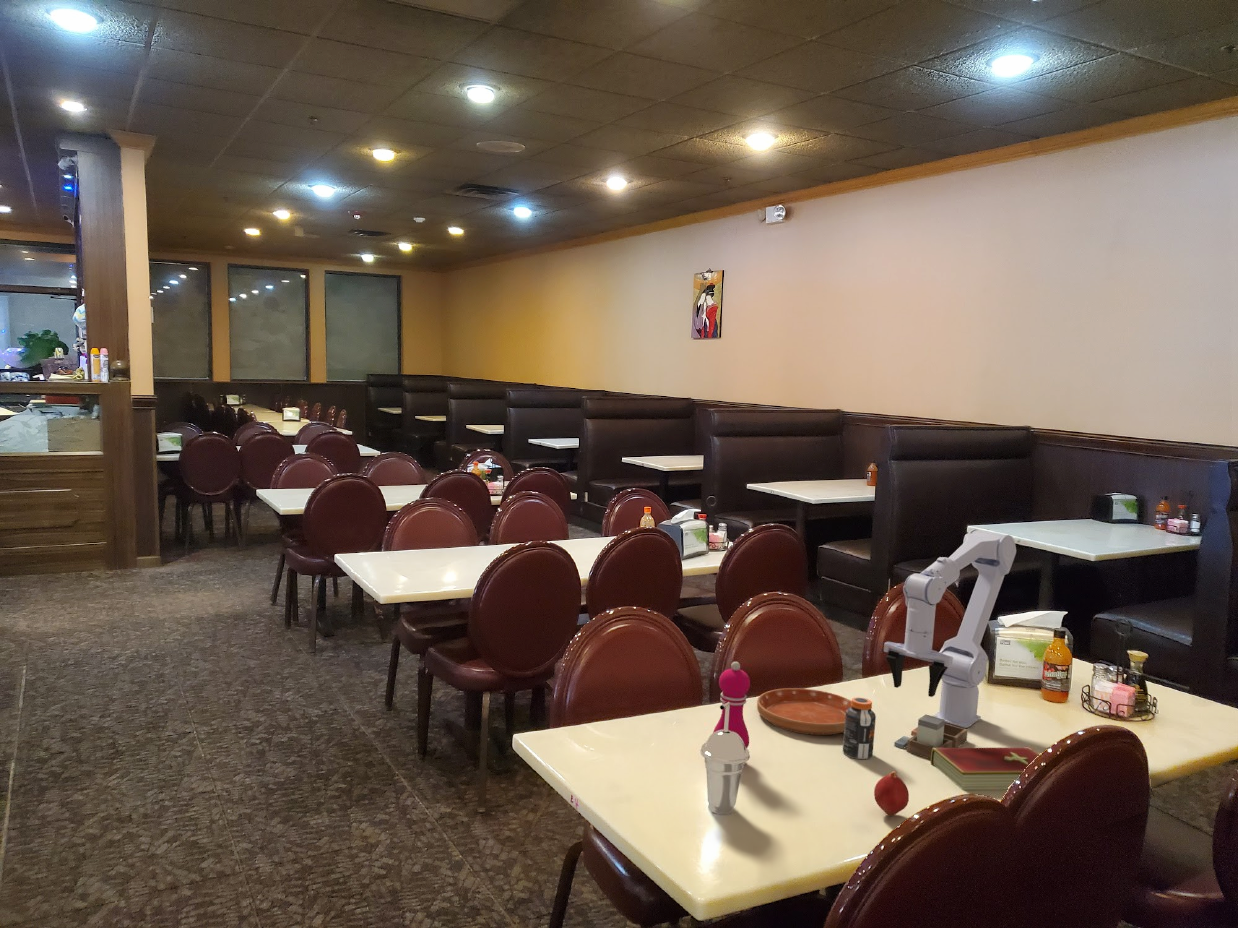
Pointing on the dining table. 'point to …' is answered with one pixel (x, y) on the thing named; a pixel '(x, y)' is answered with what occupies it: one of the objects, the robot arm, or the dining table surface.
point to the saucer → (804, 710)
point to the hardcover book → (982, 765)
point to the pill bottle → (859, 729)
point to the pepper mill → (734, 700)
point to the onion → (891, 794)
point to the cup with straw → (724, 766)
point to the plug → (930, 731)
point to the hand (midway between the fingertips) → (914, 690)
